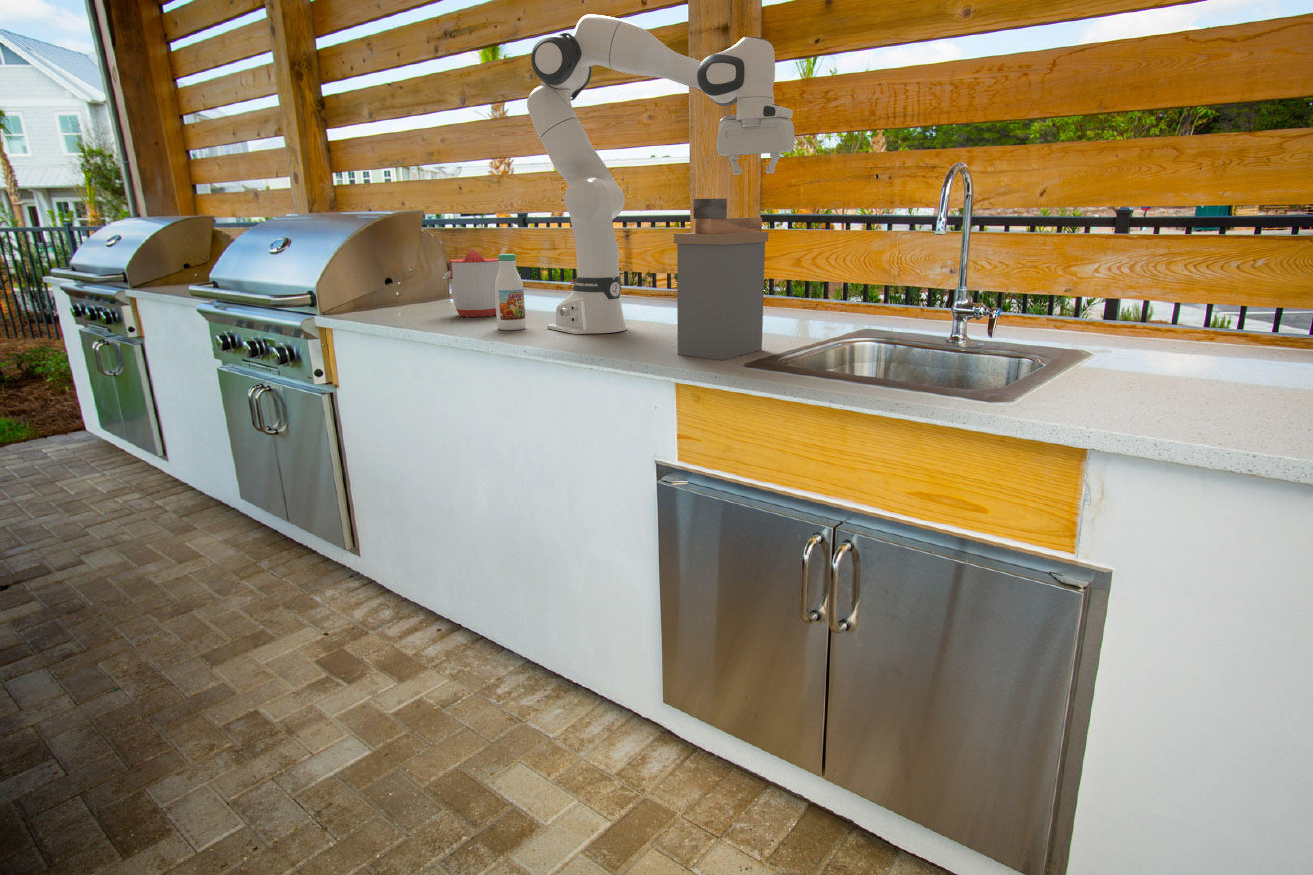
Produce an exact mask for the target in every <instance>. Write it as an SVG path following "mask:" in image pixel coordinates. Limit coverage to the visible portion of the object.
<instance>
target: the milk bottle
mask: <svg viewBox="0 0 1313 875" xmlns="http://www.w3.org/2000/svg"><path fill="white" fill-rule="evenodd" d="M497 259H499V266H500V268H499V272H498V275H497V278H496V281H495V301H496V314H495V315H496V325H497V326H496V328H497V329H498V330H502V331H519V330H523V329H525V328H526V326H527V325H526V323H527V322H526V312H525V311H526V310H525V309H526V306H525V294H524V292H525V291H524V285H523V281H522V277H521V275H520V274H519V271H518V270H517V267H516V266H517V265H516V263H517V256H516V254H515V253H500V254H498V255H497Z"/></svg>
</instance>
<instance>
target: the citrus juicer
mask: <svg viewBox="0 0 1313 875" xmlns="http://www.w3.org/2000/svg"><path fill="white" fill-rule="evenodd" d="M448 261H449V262H448V263H449V270H448V271H446V272H445V273H444V275H443V276H442V277H443V279H444V280H445V279H450V290H451V298H452V300H453V303H454V306H455V309H456V312H457V313H458V316H461V317H465V318H468V319H469V318H473V317H488V318H490V317H493V316H494V315H496V301H495V281H496V278H497V275H498V272H499V268H500V263H499V259H498V258H490V257H489V258H486V257H485V258H484V257H483V256H482V254H480V253H479V252H478V251H476V249H472V250H469V252H468V254H466V256H465V258H454V259H449V260H448Z"/></svg>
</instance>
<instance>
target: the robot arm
mask: <svg viewBox="0 0 1313 875" xmlns="http://www.w3.org/2000/svg"><path fill="white" fill-rule="evenodd" d="M775 56H776V55H775V48H774V47H773V44H772V43H771V41H769V40H767V39H766V38H763V37H758V36H750V35H749V36H743V37H742V38H741V39H740V40H739V41H738V42H737V43H736V44H734V45H732V46H731V47H729V48H727V49H724V50H723V51H720V52H716V53H714V54H711V55H708V56H706V57H705V58H704V59H703V60H702V61H701V60H699V59H695V58H693V57H691V56H687V55H683V54H681V53H679V52H676V51H674V50H672V49H671V48H669V47H668V46H667V45H665V44H664V42H662V41H661V40H659V39H658V38H657V37H656V36H655V35H654V34H652V33H651V32H650V31H648V30H647V29H644V28H643V27H641V26H639V25H637V24H635V23H633V22H630V21H626V20H623V19H620V18H616V17H611V16H606V15H602V14H601V15H600V14H599V15H598V14H586V15H584V16H582V17H581V18H580V19H579V20H578V22H577V24H576V26H575V29H574V33H573V34H572V33H569V32H568V31H565V32H562V33H558V34H555V35H551V36H547V37H544V38H542V39H540V40H538V42H536V43H535V45H534V47H533V49H532V51H531V56H530V57H531V58H530V62H531V67H532V69H533V71H534V74H535V75H536V76H537V78H539V80H540V81H541V82H540V84H539V85H538V87H536V88H534V89H533V90H532V92H531V93H530V94H528V97H527V100H526V107H527V110H528V115H529V117H530V120H531V122H532V125H533V128H534V130H535V132H536V134H537V137H538V138H539V140H540V142H541V144H542V147H543V148H544V150H545V152H546V154H547V156H548V157H549V159H550V162H551V163H552V166H553V167H554V169H555V170H556V171H557V172H558V173H559V174H560V175H561V177H562V178H563V180H564V181H565V182H566V183H567V184H568V187H567V188H566V190H565V193H564V197H563V198H564V199H563V200H564V201H563V202H564V205H565V208H566V210H567V212H568V215H569V217H570V218H569V219H570V223H571V227H572V228H571V229H572V234H573V237H574V242H575V251H576V269H577V270H576V272H577V273H576V275H577V276H576V277H575V279H569V281H570V282H569V284H570V285H573V286H572V292H571V293H570V294H568V295H567V296H566V298H564V299H563V300H562V301H561V302H559V303H558V305H557V306H556V309H555V322H552V323H549V324H547V326H546V328H547V329H548V330H553V331H557V332H558V331H559V332H563V333H569V334H574V335H583V334H584V335H585V334H608V333H618V332H623V331H626V330H627V326H626V322H625V319H624V318H625V317H624V314H623V313H624V311H623V305H622V298H621V292H622V278H621V276H620V257H619V243H618V241H617V239H616V234H615V233H616V232H615V230H614V224H613V220H614V219H615V218H617V217H618V216H619V215H620V214H621V212H622V211H623V209H624V207H625V204H626V203H625V201H626V200H625V199H626V198H625V193H624V192H623V189H622V188H621V187H620V186H619V184H618V183H617V181H616V180H615V178H614V176H613V174H612V173H611V172H610V170H609V168H608V167H607V166H606V164H605V162H604V161H603V160H602V158H601V157H600V155H599V154H598V153H597V151H596V150H595V147H593V144H592V143H591V141H590V139H589V137H588V134H587V133H586V131H585V128H584V127H583V124H581V123H582V122H581V121H580V119H579V117H578V115H577V114H576V111H575V110H574V108H573V106H572V101H575V99H576V98H577V97H578V95H580V93H581V92H583V91H584V89H586V87H587V86H588V85H589V83H590V81H591V78H592V73H593V69H592V67H593V66H599V67H604V68H607V69H611V70H612V71H615V72H620V73H623V74H628V75H636V76H644V77H652V78H660V79H665V80H669V81H672V82H676V83H679V84H682V85H684V86H687V87H689V88H693V89H696V90H699V91H700V92H702V93H703V94H705V95H706V97H708V98H709V99H710V101H712V102H713V103H714V104H717V105H718V106H720V107H721V106H722V107H728V106H732V105H734V104H736V114H731V115H724V116H723V117H722V118H721V119H720V120H719V122H718V133H717V139H716V152H717V154H718V155H719V156H722V157H723V156H724V157H725V156H726V157H727V156H728V160H729V161H728V162H730V166H732V174H733V175H734V176H735V175H736V176H737V175H739V176H740V175H742V172H743V167H742V166H739V163H738V161H739V156H745V155H762V154H769V156H770V157H769V158H771V159H770V162H769V163H768V164H766V165H765V168H766V169H765V174H775V173H776V172H775V171H776V169H775V168H776V165H777V163H778V162H779V160H780V158H781V157H780V156H781V155H780V154H781V153H790V152H792V150H793V149H794V147H795V125H794V122H793V121H792V120H791V119H793V116H794V114H793V113H794V111H793V109H791V108H788V107H784V106H781V105H779V104H776V103H775V94H774V83H775V80H776V59H775V58H776V57H775Z"/></svg>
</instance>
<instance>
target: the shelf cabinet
mask: <svg viewBox="0 0 1313 875" xmlns="http://www.w3.org/2000/svg"><path fill="white" fill-rule="evenodd" d="M769 233H770V232H769V231H759V232H739V233H720V234H695V232H681V233H674V234H673V244H677V249H676V250H677V252H676V253H677V256H676V258H677V264H676V265H677V275H676V276H677V277H676V278H677V280H676V281H677V284H676V285H677V286H676V287H677V293H676V294H677V297H676V298H677V302H676V303H677V305H676V306H677V313H676V314H677V316H676V317H677V318H676V319H677V355H679V356H687V357H695V358H701V359H709V360H716V361H725V360H729V359H733V358H737V357H740V355H741V356H744V355H747V354H751V353H756V352H759V351H762V350H763V326H764V325H763V323H764V321H763V320H764V293H765V292H764V290H765V288H764V286H765V258H766V256H765V255H766V253H765V252H766V242H767V243H768V242H769ZM755 351H756V352H755Z"/></svg>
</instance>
